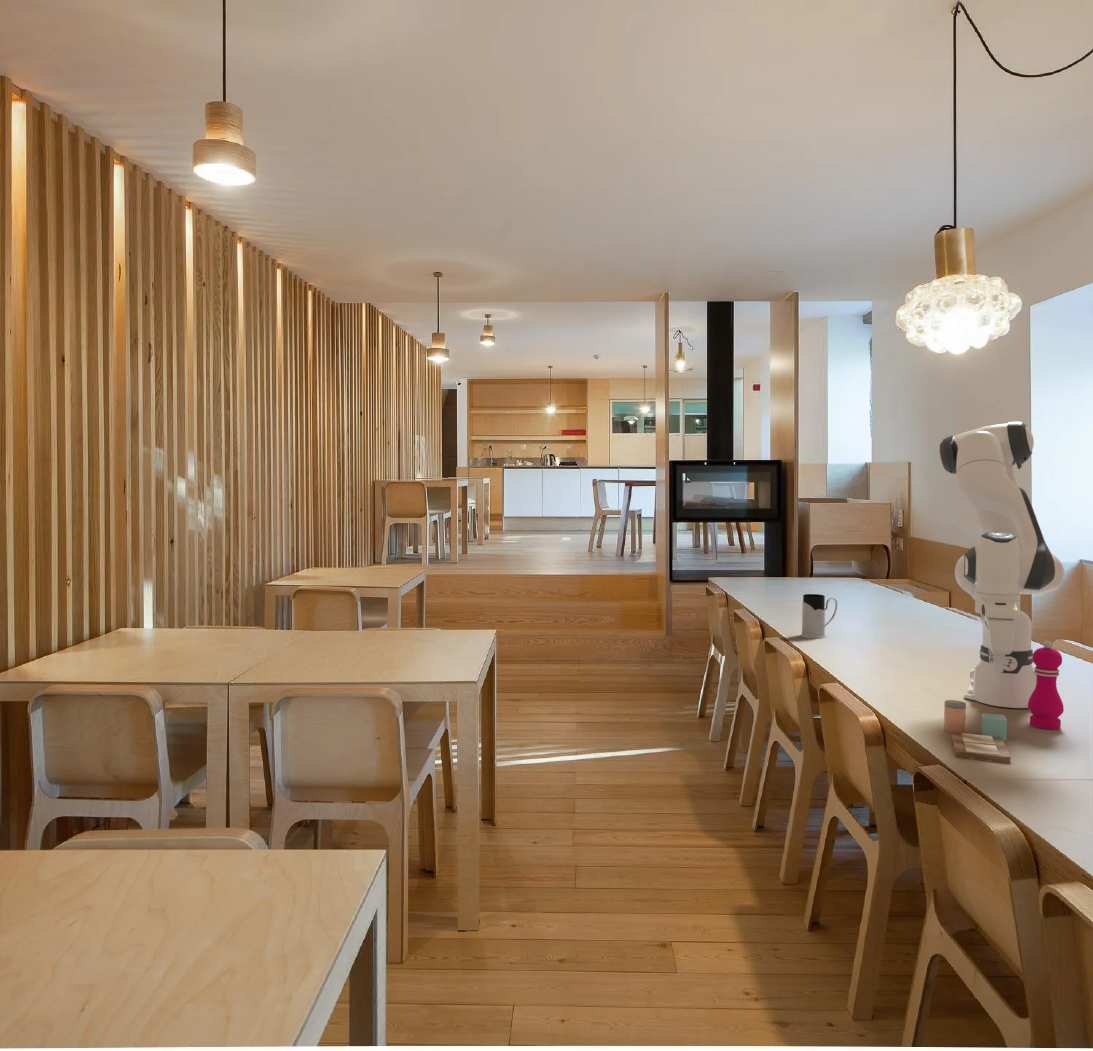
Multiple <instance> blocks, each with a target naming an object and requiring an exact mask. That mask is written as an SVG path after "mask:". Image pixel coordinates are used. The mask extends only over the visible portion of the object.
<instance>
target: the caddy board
mask: <svg viewBox="0 0 1093 1051" xmlns="http://www.w3.org/2000/svg"><path fill="white" fill-rule="evenodd" d="M950 739H951V742H952V747H953V750H954V754H955V758H960V759H968V758H973V759H972V760H977V759H978V760H979V761H986V760H991V761H990V762H996V763H1006V764H1011V761H1012V760H1011V755H1010V753H1009V750H1008V748H1007V746H1006V743H1005V742H1004V741H1005V740H1003V739H1002V737H992V736H985V735H982V734H973V733H966V732H965V733H952V732H951V734H950Z"/></svg>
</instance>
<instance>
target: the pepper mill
mask: <svg viewBox="0 0 1093 1051" xmlns="http://www.w3.org/2000/svg"><path fill="white" fill-rule="evenodd" d="M1042 646H1043V647H1039V648H1037V649H1036V650H1035V651H1033V656H1032V659H1033V663H1034V665H1035V667H1033V668H1034V669H1035V671H1034V673H1035V674H1036V677H1037V682H1036V687H1035V689H1034V691H1033V693H1032V695H1031V696H1030V698H1029V701H1028V708H1027V709H1028V710H1029V712H1030V713H1031V715H1030V716H1029V725H1031V726H1032V727H1034V728H1038V729H1042V728H1043V729H1042V730H1059V729H1061V726H1062V725H1061V722H1062V720H1061V719H1060V718H1059V717H1060V716H1062V715H1063V713H1064V710H1065V709H1064V708H1065V707H1064V702H1063V700H1062V698H1061V696H1060V693H1059V692H1058V686H1057V679H1058V677H1059V676H1060V673H1059V672H1060V669H1059V667H1060V666H1061V665H1062V664H1063V656H1062V654H1061V652H1059V651H1058V650H1057V649H1055V648H1052V647H1053V644H1052V642H1051V641H1049V640H1045V641H1044V642H1043V645H1042Z"/></svg>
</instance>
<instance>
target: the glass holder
mask: <svg viewBox="0 0 1093 1051" xmlns="http://www.w3.org/2000/svg"><path fill="white" fill-rule="evenodd" d="M825 598H826V596H825V595H824V594H820V593H819V594H816V593H806V594H803V595H802V607H801V608H802V614H801V616H802V618H801V619H802V620H801V622H802V623H801V627H802V628H801V634H800V637H801V638H805V639H813V640H820V639H825V638H827V636H826V634H825V633H826V630H825V629H826V627H827V626H828V625H829V624H830V623H831V621H832V620H833V619H834V618H835V616H836V613H837V609H838V601H837V599H836V598H834V597H830V598H828V599H827V600H826V599H825ZM830 600H833V601H834V603H835V606H834V612H833V615H832V616H831V618H830V619H829V620H828V621H827V622H826V611H827V609H828V605H829V601H830ZM825 601H826V603H825Z"/></svg>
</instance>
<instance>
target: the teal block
mask: <svg viewBox="0 0 1093 1051" xmlns="http://www.w3.org/2000/svg"><path fill="white" fill-rule="evenodd" d="M982 734H983V735H985V736H992V737H1002V739H1005V740H1004V741H1007V736H1008V735H1007V734H1008V720H1007V717H1006V716H1005V714H997V713H988V712H987V713H986V712H985V713H984V712H981V735H982Z"/></svg>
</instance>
